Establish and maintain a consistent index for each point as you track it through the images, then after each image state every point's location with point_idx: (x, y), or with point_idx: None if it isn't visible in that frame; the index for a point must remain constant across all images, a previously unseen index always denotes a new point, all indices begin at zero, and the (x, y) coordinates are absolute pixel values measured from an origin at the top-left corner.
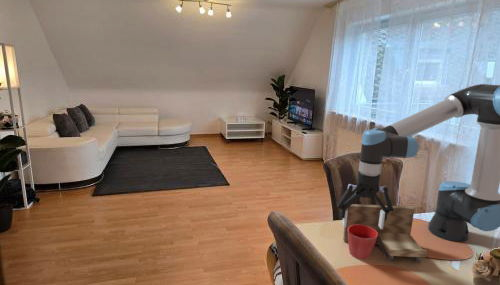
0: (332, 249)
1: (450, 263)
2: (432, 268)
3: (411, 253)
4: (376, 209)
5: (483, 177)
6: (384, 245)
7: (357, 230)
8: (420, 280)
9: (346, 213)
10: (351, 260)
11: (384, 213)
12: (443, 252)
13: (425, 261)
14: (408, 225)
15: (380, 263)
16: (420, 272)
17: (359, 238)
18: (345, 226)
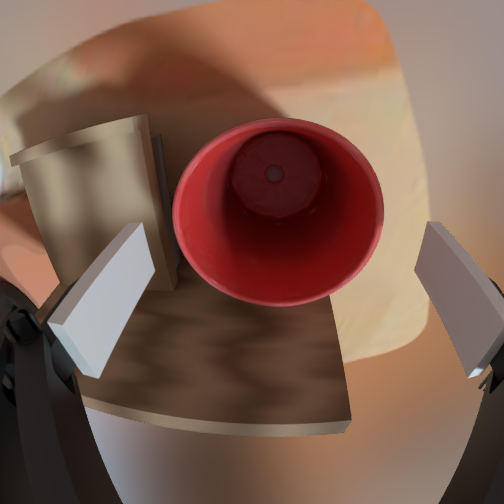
0: (389, 200)
1: (3, 177)
2: (35, 131)
3: (56, 137)
4: (151, 398)
5: None
6: (153, 187)
7: (284, 274)
8: (82, 42)
9: (498, 302)
10: (332, 117)
11: (53, 319)
12: (13, 230)
13: None
14: (48, 309)
15: (198, 108)
16: (68, 91)
17: (331, 130)
18: (432, 225)
